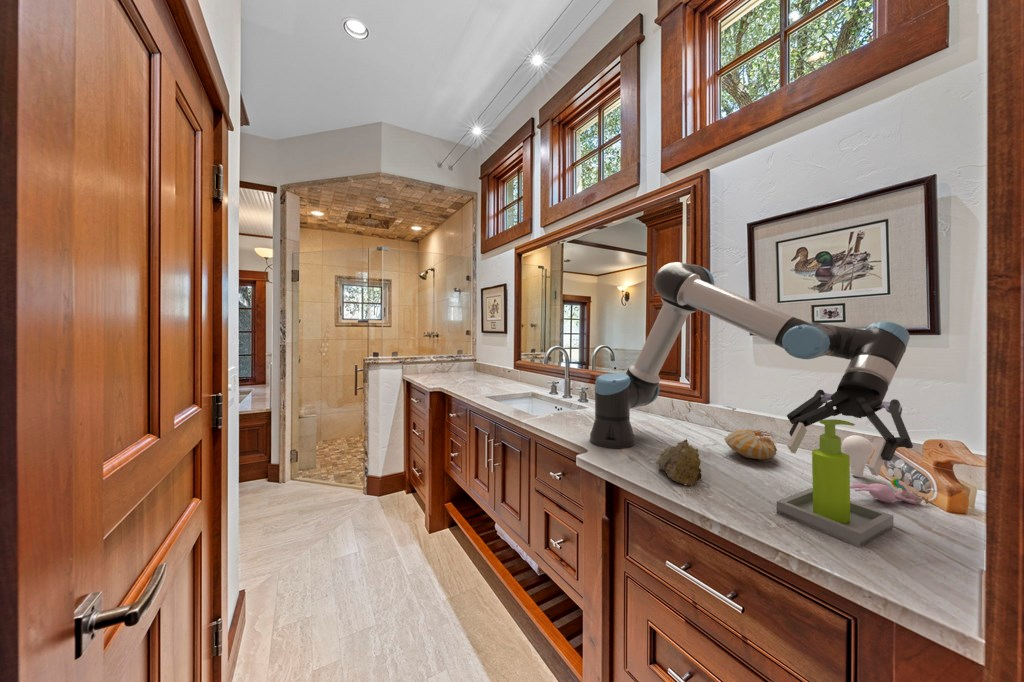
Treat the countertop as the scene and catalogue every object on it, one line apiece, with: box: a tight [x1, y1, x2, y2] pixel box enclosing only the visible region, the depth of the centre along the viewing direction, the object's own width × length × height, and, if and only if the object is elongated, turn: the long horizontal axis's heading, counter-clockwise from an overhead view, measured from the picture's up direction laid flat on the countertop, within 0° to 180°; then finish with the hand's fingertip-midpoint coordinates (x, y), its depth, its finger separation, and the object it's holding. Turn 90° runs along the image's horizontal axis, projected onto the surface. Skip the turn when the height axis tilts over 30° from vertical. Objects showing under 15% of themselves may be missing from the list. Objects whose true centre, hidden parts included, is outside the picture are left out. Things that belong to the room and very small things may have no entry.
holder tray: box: [776, 487, 894, 548], centre depth 77 cm, size 14×14×3 cm
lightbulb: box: [841, 434, 875, 478], centre depth 98 cm, size 6×6×11 cm
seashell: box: [655, 438, 702, 487], centre depth 100 cm, size 11×14×10 cm
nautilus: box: [724, 428, 778, 461], centre depth 114 cm, size 8×22×15 cm
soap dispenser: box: [811, 418, 856, 523], centre depth 76 cm, size 6×7×20 cm
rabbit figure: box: [850, 477, 930, 506], centre depth 84 cm, size 6×6×15 cm
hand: (828, 459), depth 75 cm, fingers open, 13 cm apart
